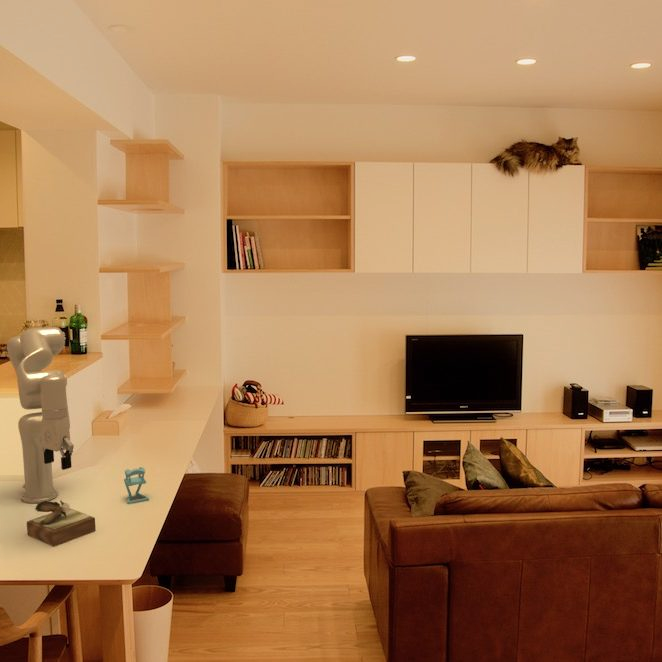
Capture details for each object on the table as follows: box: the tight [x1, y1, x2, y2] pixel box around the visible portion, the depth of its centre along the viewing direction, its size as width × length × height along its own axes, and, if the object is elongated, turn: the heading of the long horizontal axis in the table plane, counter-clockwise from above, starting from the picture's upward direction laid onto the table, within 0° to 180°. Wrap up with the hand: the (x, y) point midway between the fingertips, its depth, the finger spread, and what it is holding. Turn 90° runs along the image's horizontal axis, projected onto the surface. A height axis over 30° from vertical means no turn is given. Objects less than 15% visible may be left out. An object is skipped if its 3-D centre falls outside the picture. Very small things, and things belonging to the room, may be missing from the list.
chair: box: [123, 466, 150, 505], centre depth 268 cm, size 8×8×12 cm
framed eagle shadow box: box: [26, 507, 96, 547], centre depth 239 cm, size 15×15×5 cm
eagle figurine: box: [34, 499, 71, 525], centre depth 236 cm, size 8×7×9 cm
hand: (57, 465), depth 237 cm, fingers open, 9 cm apart
